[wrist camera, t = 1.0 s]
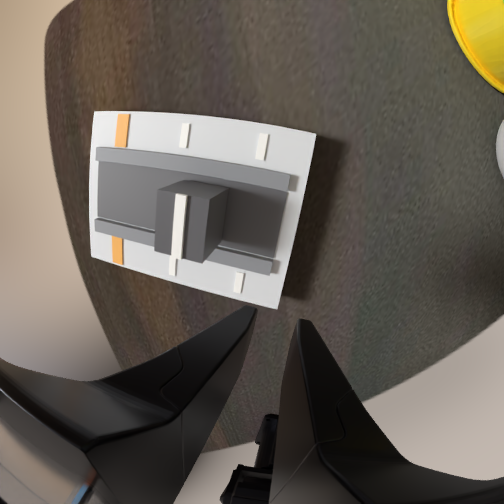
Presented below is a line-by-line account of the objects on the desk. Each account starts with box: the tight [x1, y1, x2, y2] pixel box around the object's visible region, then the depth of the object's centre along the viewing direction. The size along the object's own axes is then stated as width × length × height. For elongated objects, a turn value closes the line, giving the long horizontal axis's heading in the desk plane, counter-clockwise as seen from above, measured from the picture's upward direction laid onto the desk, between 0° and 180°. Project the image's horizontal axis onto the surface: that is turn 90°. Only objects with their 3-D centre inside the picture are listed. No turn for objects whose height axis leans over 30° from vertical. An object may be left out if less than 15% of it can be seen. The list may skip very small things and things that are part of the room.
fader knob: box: [154, 180, 229, 264], centre depth 17 cm, size 4×3×4 cm
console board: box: [89, 111, 316, 309], centre depth 20 cm, size 12×16×2 cm
